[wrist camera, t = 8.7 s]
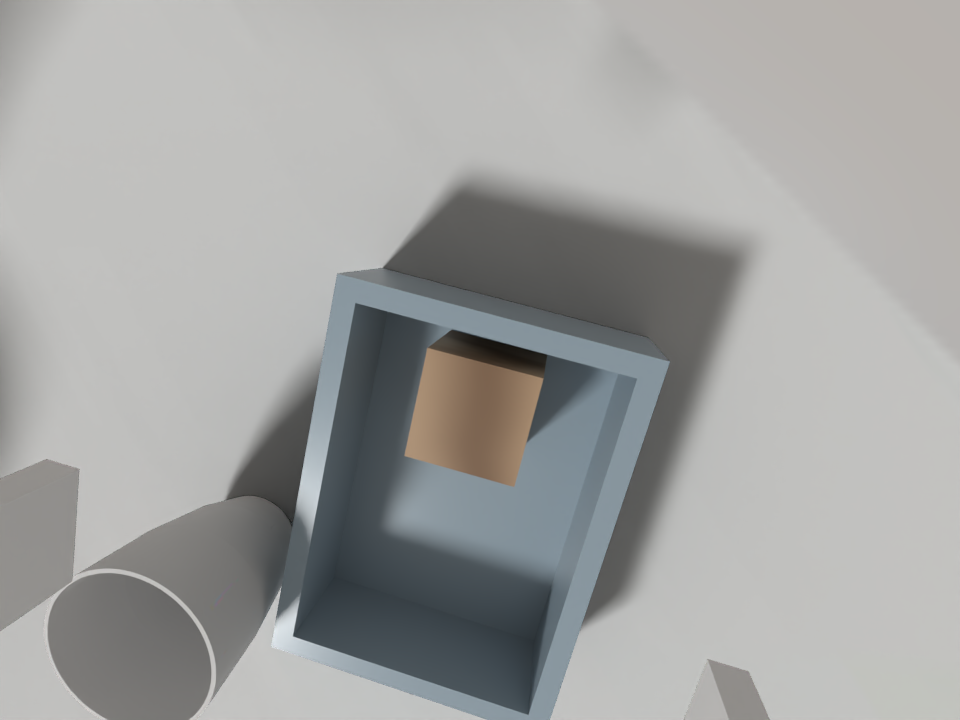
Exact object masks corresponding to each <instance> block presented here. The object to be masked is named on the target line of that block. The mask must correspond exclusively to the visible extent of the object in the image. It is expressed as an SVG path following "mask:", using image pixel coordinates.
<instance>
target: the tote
mask: <svg viewBox="0 0 960 720" xmlns="http://www.w3.org/2000/svg"><path fill="white" fill-rule="evenodd" d="M451 330H453V331H457V332H461V333H465V334H469V335H473V336H476V337H480V338H484V339H488V340H492V341H496V342H500V343H503V344H507V345H511V346H515V347H519V348H523V349H527V350H530V351H534V352H538V353H542V354H546V355H547V360H546V366H545V373H544V379H543V382H542V386H541V390H540V394H539V397H538V401H537V405H536V408H535V412H534V416H533V420H532V423H531V427H530V431H529V434H528V438H527V442H526V446H525V449H524V453H523V457H522V460H521V464H520V468H519V472H518V475H517V479H516V483H515V486H514V487H512V486H508V485H505V484H501V483H498V482H494V481H491V480H487V479H484V478H480V477H477V476H473V475H470V474H466V473H463V472H459V471H456V470H452V469H449V468H445V467H442V466H438V465H435V464H431V463H428V462H424V461H421V460H417V459H414V458H410V457H406V456H404V455H405V450H406V446H407V441H408V436H409V432H410V427H411V422H412V418H413V413H414V408H415V404H416V399H417V394H418V389H419V385H420V380H421V375H422V371H423V366H424V361H425V357H426V352H427V348H428V347H429V346H431V345H432V344H433V343H435V342H436V341H437V340H439V339H440V338H441V337H443V336H444V335H445V334H447V333H448V332H449V331H451ZM669 363H670V361H669V360H668V359H667V358H666V357H665V356H664V355H663V353H662V352H661V351H660V350H659V349H658V348H657V347H656V346H655V345H654V343H653V342H652V341H651V340H650V339H649V338H648V337H644V336H640V335H636V334H632V333H629V332H625V331H621V330H617V329H613V328H609V327H606V326H602V325H598V324H594V323H590V322H586V321H583V320H579V319H575V318H571V317H567V316H564V315H560V314H556V313H552V312H548V311H544V310H541V309H537V308H533V307H529V306H525V305H522V304H518V303H514V302H510V301H506V300H502V299H499V298H495V297H491V296H487V295H483V294H479V293H476V292H472V291H468V290H464V289H460V288H457V287H453V286H449V285H445V284H441V283H437V282H434V281H430V280H426V279H422V278H418V277H414V276H411V275H407V274H403V273H399V272H395V271H392V270H388V269H384V268H378V269H370V270H362V271H354V272H346V273H338V274H337V278H336V284H335V289H334V295H333V301H332V306H331V312H330V317H329V323H328V329H327V334H326V340H325V346H324V351H323V357H322V363H321V368H320V374H319V380H318V385H317V391H316V396H315V402H314V408H313V413H312V419H311V425H310V430H309V436H308V442H307V447H306V453H305V458H304V464H303V470H302V475H301V481H300V487H299V492H298V498H297V504H296V509H295V515H294V520H293V526H292V532H291V537H290V543H289V549H288V554H287V560H286V566H285V571H284V577H283V582H282V588H281V594H280V599H279V605H278V611H277V616H276V622H275V628H274V633H273V639H272V644H271V647H273V648H276V649H279V650H282V651H285V652H288V653H291V654H294V655H297V656H300V657H303V658H306V659H309V660H312V661H315V662H318V663H321V664H324V665H327V666H330V667H333V668H336V669H339V670H342V671H345V672H348V673H351V674H354V675H356V676H359V677H362V678H365V679H368V680H371V681H374V682H377V683H380V684H383V685H386V686H389V687H392V688H395V689H398V690H401V691H404V692H407V693H410V694H413V695H416V696H419V697H422V698H425V699H428V700H431V701H434V702H437V703H440V704H443V705H445V706H448V707H451V708H454V709H457V710H460V711H463V712H466V713H469V714H472V715H475V716H478V717H481V718H484V719H487V720H550V718H551V715H552V712H553V709H554V706H555V703H556V700H557V697H558V694H559V691H560V688H561V685H562V682H563V679H564V676H565V673H566V670H567V667H568V664H569V661H570V658H571V655H572V652H573V649H574V646H575V643H576V640H577V637H578V634H579V631H580V628H581V625H582V622H583V619H584V616H585V613H586V610H587V607H588V604H589V601H590V598H591V596H592V593H593V590H594V587H595V584H596V581H597V578H598V575H599V572H600V569H601V566H602V563H603V560H604V557H605V554H606V551H607V548H608V545H609V542H610V539H611V536H612V533H613V530H614V527H615V524H616V521H617V518H618V515H619V512H620V509H621V506H622V503H623V500H624V497H625V494H626V491H627V488H628V485H629V482H630V479H631V476H632V473H633V470H634V467H635V465H636V462H637V459H638V456H639V453H640V450H641V447H642V444H643V441H644V438H645V435H646V432H647V429H648V426H649V423H650V420H651V417H652V414H653V411H654V408H655V405H656V402H657V399H658V396H659V393H660V390H661V387H662V384H663V381H664V378H665V375H666V372H667V369H668V366H669Z"/></svg>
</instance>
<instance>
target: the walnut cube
mask: <svg viewBox="0 0 960 720" xmlns="http://www.w3.org/2000/svg"><path fill="white" fill-rule="evenodd" d="M546 360H547V355H546V354H542V353H538V352H534V351H530V350H527V349H523V348H519V347H515V346H511V345H507V344H503V343H500V342H496V341H492V340H488V339H484V338H480V337H476V336H473V335H469V334H465V333H461V332H457V331H453V330H451V331H449V332H448V333H447V334H445V335H444V336H443V337H441V338H440V339H439V340H437V341H436V342H435V343H433V344H432V345H431V346H429V347H428V348H427V352H426V357H425V361H424V366H423V371H422V375H421V380H420V385H419V389H418V394H417V399H416V404H415V408H414V413H413V418H412V422H411V427H410V432H409V436H408V441H407V446H406V450H405V455H404V456H406V457H410V458H414V459H417V460H421V461H424V462H428V463H431V464H435V465H438V466H442V467H445V468H449V469H452V470H456V471H459V472H463V473H466V474H470V475H473V476H477V477H480V478H484V479H487V480H491V481H494V482H498V483H501V484H505V485H508V486H512V487H514V486H515V483H516V479H517V475H518V472H519V468H520V464H521V460H522V457H523V453H524V449H525V446H526V442H527V438H528V434H529V431H530V427H531V423H532V420H533V416H534V412H535V408H536V405H537V401H538V397H539V394H540V390H541V386H542V382H543V379H544V373H545V366H546Z"/></svg>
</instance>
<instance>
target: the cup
mask: <svg viewBox="0 0 960 720" xmlns="http://www.w3.org/2000/svg"><path fill="white" fill-rule="evenodd" d="M291 532H292V526H291V524H290V522H289V520H288V518H287V517H286V515H285V514H284V513H283V512H282V510H281V509H280V508H278V507H277V506H276V505H275V504H273V503H272V502H270V501H268V500H266V499H263V498H260V497H256V496H241V497H237V498H233V499H229V500H225V501H221V502H218V503H214V504H210V505H206V506H203V507H201V508H199V509H197V510H194V511H192V512H190V513H188V514H186V515H183V516H181V517H179V518H177V519H175V520H172V521H170V522H168V523H166V524H164V525H161V526H159V527H157V528H155V529H153V530H150V531H148V532H147V533H145V534H143V535H142V536H140V537H138V538H137V539H135V540H133V541H132V542H130V543H128V544H127V545H125V546H123V547H122V548H120V549H118V550H117V551H115V552H113V553H112V554H110V555H108V556H107V557H105V558H103V559H102V560H100V561H98V562H97V563H95V564H93V565H92V566H90V567H88V568H87V569H85V570H83V571H82V572H80V573H78V574H77V575H75V576H73V580H72V582H71V583H69V584H68V585H66V586H65V587H63V588H62V589H61V590H59V591H58V592H56V593H55V594H54V595H53V596H52V598H51V600H50V602H49V604H48V607H47V610H46V613H45V618H44V641H45V647H46V651H47V654H48V657H49V660H50V663H51V665H52V667H53V669H54V671H55V673H56V675H57V677H58V678H59V680H60V681H61V683H62V684H63V686H64V687H65V688H66V690H67V691H68V692H69V693H70V694H71V696H72V697H73V698H74V699H75V700H76V701H77V702H78V703H79V704H80V705H82V706H83V707H84V708H85V709H86V710H88V711H89V712H90V713H92V714H93V715H95V716H96V717H98V718H99V719H101V720H196V719H197V718H199V717H200V715H201V714H202V713H203V712H204V711H205V709H206V708H207V706H208V705H209V703H210V702H211V701H212V699H213V698H214V696H215V695H216V693H217V692H218V690H219V689H220V687H221V686H222V684H223V683H224V681H225V680H226V679H227V677H228V676H229V674H230V673H231V671H232V670H233V668H234V667H235V665H236V664H237V662H238V661H239V659H240V658H241V656H242V655H243V654H244V652H245V651H246V649H247V648H248V646H249V645H250V643H251V642H252V640H253V639H254V637H255V636H256V634H257V632H258V630H259V628H260V626H261V624H262V622H263V620H264V619H265V617H266V615H267V613H268V611H269V609H270V607H271V605H272V603H273V601H274V599H275V597H276V596H277V594H278V592H279V590H280V588H281V586H282V582H283V577H284V571H285V566H286V560H287V554H288V549H289V543H290V537H291Z"/></svg>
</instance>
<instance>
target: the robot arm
mask: <svg viewBox="0 0 960 720" xmlns="http://www.w3.org/2000/svg"><path fill="white" fill-rule="evenodd" d="M78 484H79V469H77V468H74V467H71V466H68V465H64V464H61V463H58V462H54V461H51V460H48V459H46V460H44V461H41V462H39V463H36V464H34V465H32V466H29V467H27V468H25V469H22V470H20V471H17V472H15V473H13V474H10V475H8V476H5V477H3V478H1V479H0V631H1V630H3V629H4V628H6V627H7V626H8V625H10V624H11V623H13V622H14V621H16V620H17V619H19V618H20V617H21V616H23V615H24V614H26V613H27V612H29V611H30V610H32V609H33V608H35V607H36V606H37V605H39V604H40V603H42V602H43V601H45V600H46V599H48V598H49V597H50V596H52V595H53V594H55V593H56V592H58V591H59V590H61V589H62V588H63V587H65V586H66V585H68V584H69V583H71V582H72V580H73V564H74V548H75V532H76V516H77V500H78ZM684 720H770V719H769V717H768V714H767V712H766V710H765V708H764V705H763V703H762V701H761V699H760V696H759V694H758V692H757V689H756V687H755V685H754V683H753V680H752V678H751V676H750V673H749V672H748V671H745V670H742V669H739V668H735V667H732V666H729V665H725V664H722V663H719V662H715V661H712V660H709V659H707V662H706V664H705V667H704V669H703V672H702V674H701V677H700V679H699V682H698V684H697V687H696V689H695V692H694V694H693V697H692V699H691V702H690V705H689V707H688V710H687V712H686V715H685V717H684Z"/></svg>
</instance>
